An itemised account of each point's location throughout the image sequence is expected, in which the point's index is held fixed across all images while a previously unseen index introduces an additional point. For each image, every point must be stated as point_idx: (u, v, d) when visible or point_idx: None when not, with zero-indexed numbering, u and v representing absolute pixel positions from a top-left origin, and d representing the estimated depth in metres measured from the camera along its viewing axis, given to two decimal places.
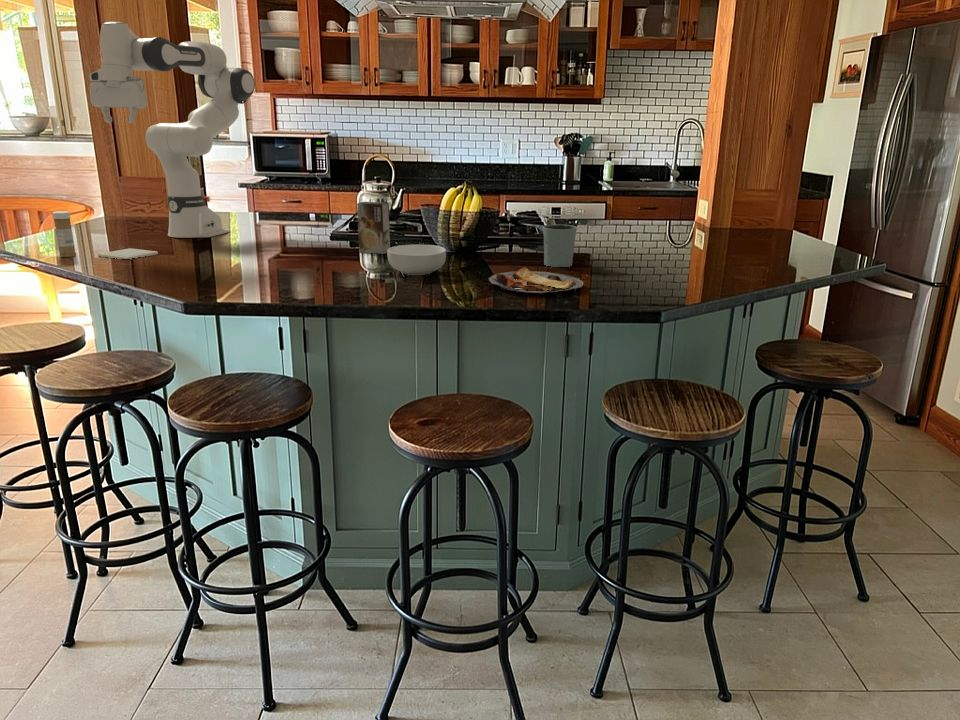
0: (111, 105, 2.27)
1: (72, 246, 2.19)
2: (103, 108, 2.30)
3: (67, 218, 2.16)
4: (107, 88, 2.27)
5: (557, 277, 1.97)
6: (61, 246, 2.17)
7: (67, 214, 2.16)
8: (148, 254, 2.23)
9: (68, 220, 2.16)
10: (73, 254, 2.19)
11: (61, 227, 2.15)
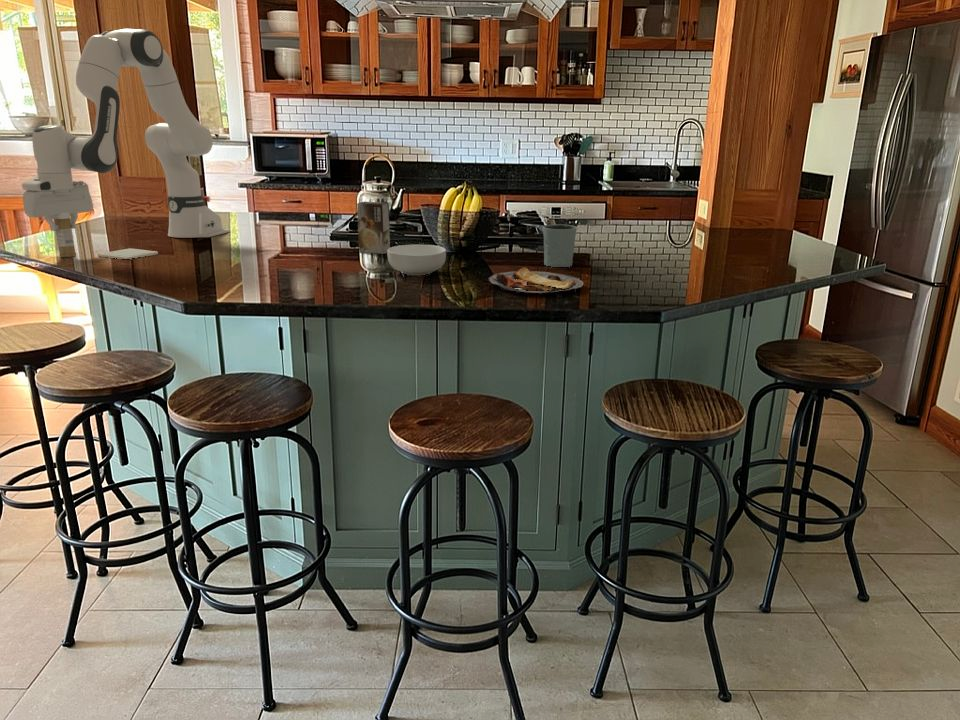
0: (60, 213, 2.14)
1: (72, 246, 2.19)
2: (52, 217, 2.13)
3: (67, 218, 2.16)
4: (53, 196, 2.11)
5: (557, 277, 1.97)
6: (61, 246, 2.17)
7: (67, 214, 2.16)
8: (148, 254, 2.23)
9: (68, 220, 2.16)
10: (73, 254, 2.19)
11: (61, 227, 2.15)
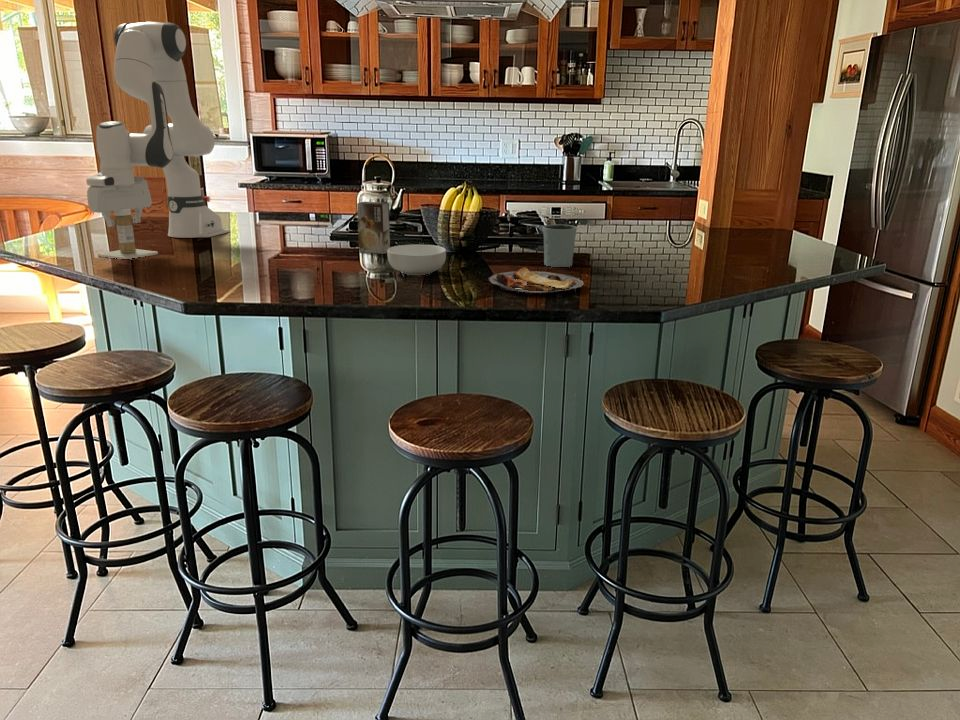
0: (122, 209, 2.17)
1: (132, 242, 2.22)
2: (109, 213, 2.14)
3: (128, 215, 2.19)
4: (116, 192, 2.14)
5: (557, 277, 1.97)
6: (122, 242, 2.20)
7: (128, 211, 2.19)
8: (148, 254, 2.23)
9: (129, 217, 2.19)
10: (133, 250, 2.22)
11: (123, 224, 2.18)
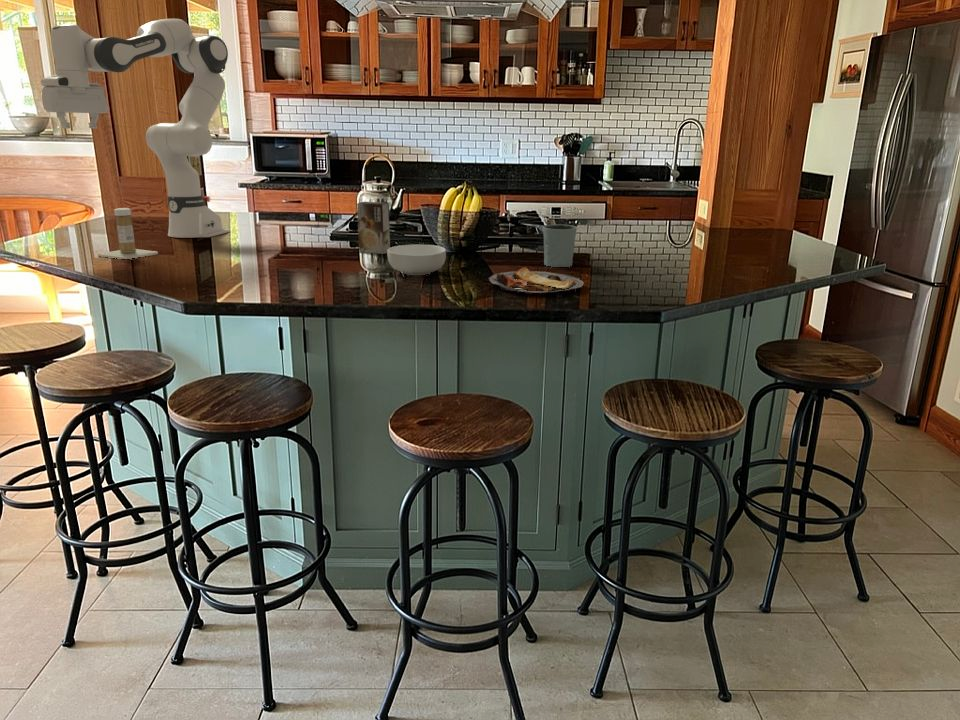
0: (77, 111, 2.23)
1: (133, 242, 2.22)
2: (64, 114, 2.20)
3: (128, 215, 2.19)
4: (71, 94, 2.20)
5: (557, 277, 1.97)
6: (122, 242, 2.20)
7: (128, 211, 2.19)
8: (148, 254, 2.23)
9: (129, 217, 2.19)
10: (133, 250, 2.22)
11: (123, 224, 2.18)
